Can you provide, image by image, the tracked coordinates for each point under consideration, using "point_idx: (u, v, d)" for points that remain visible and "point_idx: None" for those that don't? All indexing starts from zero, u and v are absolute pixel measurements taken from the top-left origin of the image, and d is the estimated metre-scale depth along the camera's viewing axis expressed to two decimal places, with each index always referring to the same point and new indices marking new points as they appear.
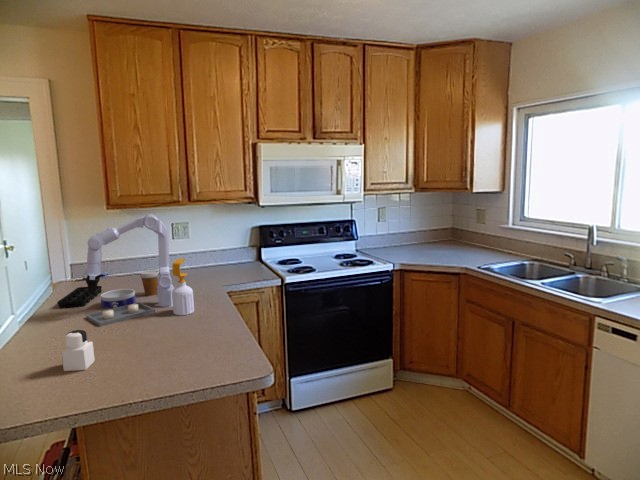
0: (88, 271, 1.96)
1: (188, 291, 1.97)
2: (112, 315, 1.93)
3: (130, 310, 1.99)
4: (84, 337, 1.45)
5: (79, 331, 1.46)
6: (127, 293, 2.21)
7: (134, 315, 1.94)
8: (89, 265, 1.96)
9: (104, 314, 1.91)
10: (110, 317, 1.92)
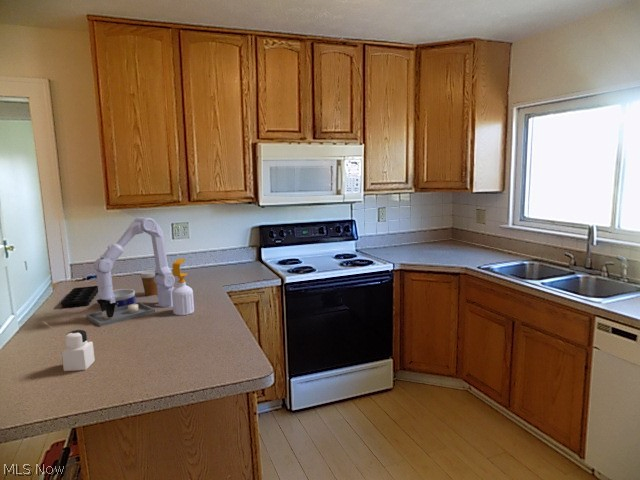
0: (103, 295, 1.89)
1: (188, 291, 1.97)
2: None
3: (130, 310, 1.99)
4: (84, 337, 1.45)
5: (79, 331, 1.46)
6: (127, 293, 2.21)
7: (134, 315, 1.94)
8: (103, 289, 1.89)
9: (104, 314, 1.91)
10: (110, 317, 1.92)
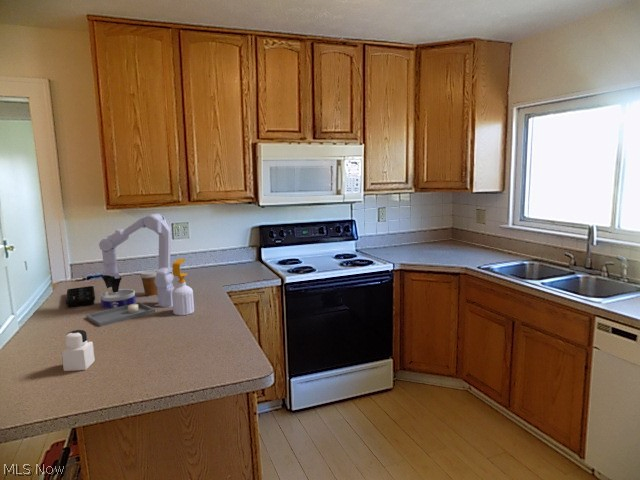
0: (108, 272, 2.08)
1: (188, 291, 1.97)
2: None
3: (130, 310, 1.99)
4: (84, 337, 1.45)
5: (79, 331, 1.46)
6: (127, 293, 2.21)
7: (134, 315, 1.94)
8: (108, 266, 2.08)
9: (109, 290, 2.10)
10: (114, 293, 2.11)
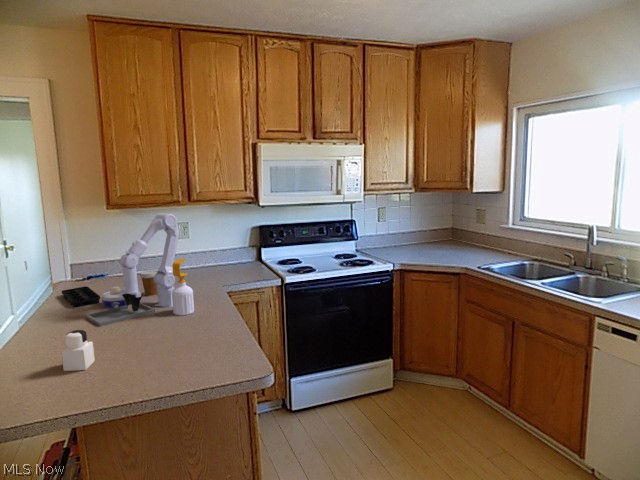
0: (128, 290, 1.97)
1: (188, 291, 1.97)
2: (118, 291, 2.12)
3: (130, 310, 1.99)
4: (84, 337, 1.45)
5: (79, 331, 1.46)
6: None
7: (134, 315, 1.94)
8: (129, 284, 1.97)
9: (111, 290, 2.11)
10: (117, 293, 2.11)
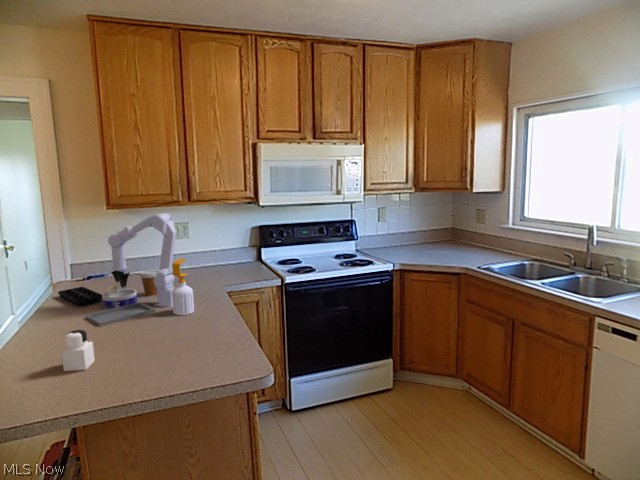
0: (117, 267, 2.11)
1: (188, 291, 1.97)
2: (116, 290, 2.14)
3: (118, 286, 2.13)
4: (84, 337, 1.45)
5: (79, 331, 1.46)
6: (129, 293, 2.21)
7: (134, 315, 1.94)
8: (117, 261, 2.10)
9: (109, 289, 2.12)
10: (115, 291, 2.13)
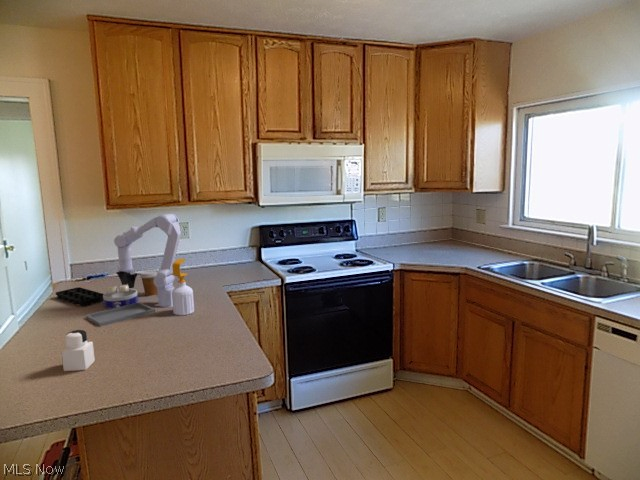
0: (123, 268, 2.11)
1: (188, 291, 1.97)
2: (116, 290, 2.14)
3: (120, 290, 2.13)
4: (84, 337, 1.45)
5: (79, 331, 1.46)
6: (130, 293, 2.21)
7: (134, 315, 1.94)
8: (124, 262, 2.10)
9: (110, 289, 2.12)
10: (115, 292, 2.13)
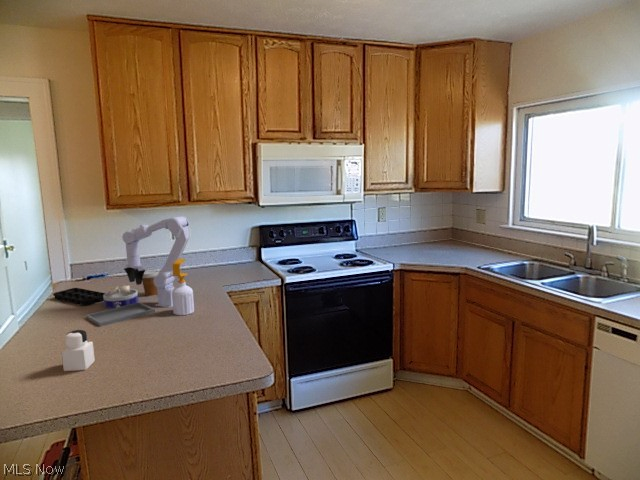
0: (131, 264, 2.10)
1: (188, 291, 1.97)
2: (118, 290, 2.14)
3: (121, 290, 2.13)
4: (84, 337, 1.45)
5: (79, 331, 1.46)
6: (130, 293, 2.21)
7: (134, 315, 1.94)
8: (131, 258, 2.09)
9: (111, 289, 2.11)
10: (117, 292, 2.13)
